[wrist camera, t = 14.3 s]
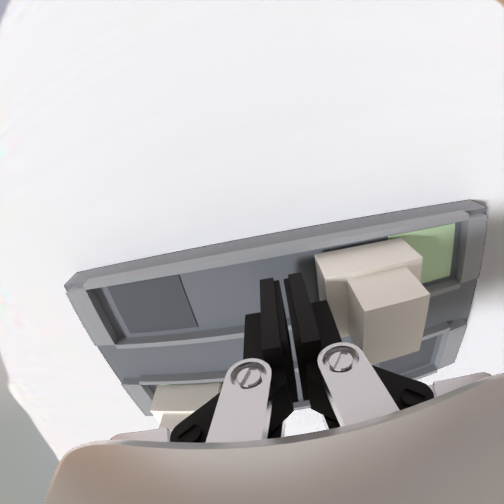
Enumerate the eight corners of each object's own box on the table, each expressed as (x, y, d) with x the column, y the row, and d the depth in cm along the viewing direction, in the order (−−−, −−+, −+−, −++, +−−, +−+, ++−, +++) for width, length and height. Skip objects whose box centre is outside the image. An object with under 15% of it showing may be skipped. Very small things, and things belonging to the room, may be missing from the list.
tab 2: (400, 237, 11) (449, 283, 8) (398, 294, 12) (435, 348, 9) (314, 254, 12) (339, 311, 8) (320, 311, 13) (339, 376, 9)
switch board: (470, 197, 12) (493, 209, 10) (446, 344, 17) (458, 363, 15) (75, 271, 14) (57, 289, 12) (148, 396, 19) (141, 417, 17)
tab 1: (219, 382, 15) (212, 441, 11) (232, 410, 16) (228, 463, 12) (157, 385, 15) (141, 438, 12) (175, 412, 16) (164, 460, 13)
